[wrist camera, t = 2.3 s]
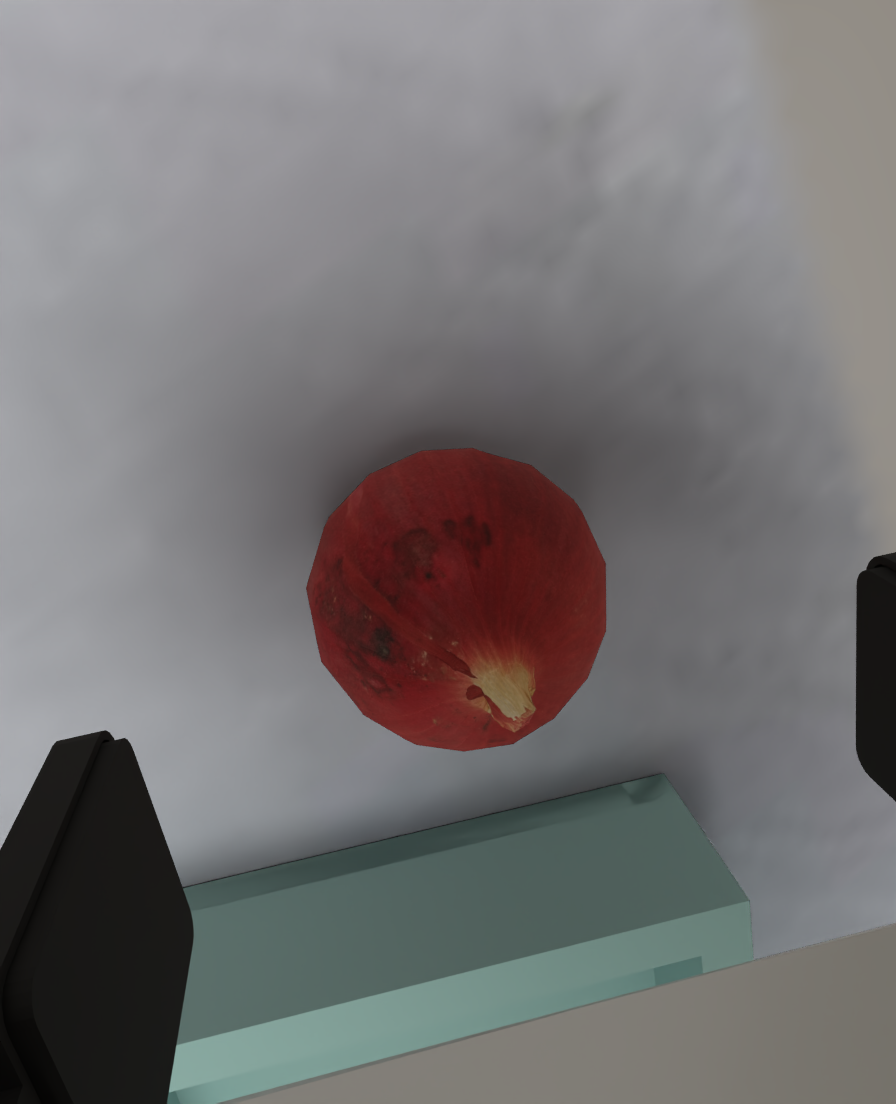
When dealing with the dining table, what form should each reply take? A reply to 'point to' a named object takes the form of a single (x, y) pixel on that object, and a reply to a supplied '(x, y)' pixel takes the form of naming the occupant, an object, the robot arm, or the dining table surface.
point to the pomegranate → (458, 598)
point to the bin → (448, 936)
